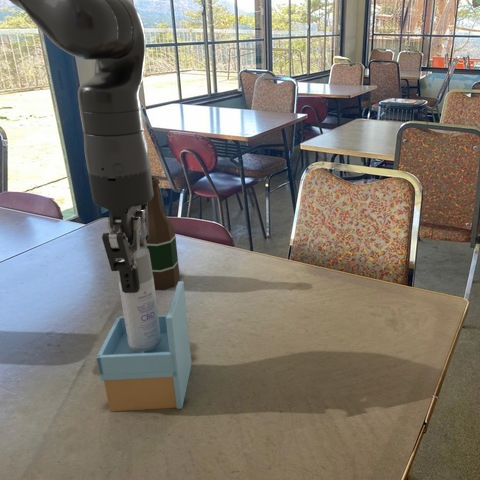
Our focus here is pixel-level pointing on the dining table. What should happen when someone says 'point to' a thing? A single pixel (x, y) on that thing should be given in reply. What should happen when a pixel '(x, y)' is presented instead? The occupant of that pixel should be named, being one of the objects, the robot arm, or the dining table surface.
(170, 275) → the beer bottle
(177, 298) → the blue and tan box
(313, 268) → the dining table surface
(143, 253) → the container
